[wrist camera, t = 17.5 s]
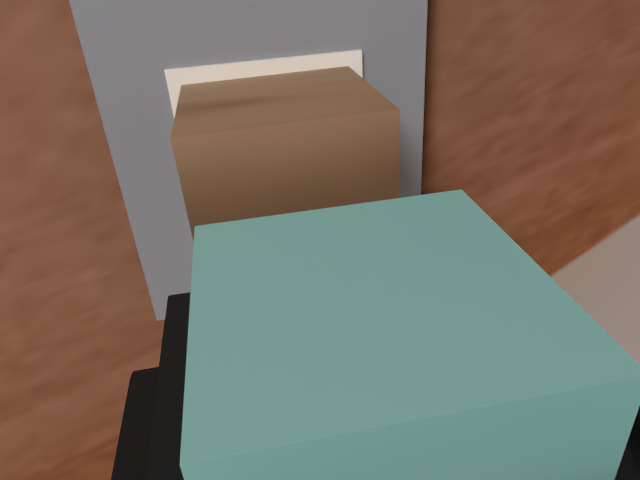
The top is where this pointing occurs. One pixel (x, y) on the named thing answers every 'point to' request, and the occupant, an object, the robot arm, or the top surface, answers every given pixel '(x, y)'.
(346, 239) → the teal block
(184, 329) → the robot arm
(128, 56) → the pad
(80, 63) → the top surface
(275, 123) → the walnut block
